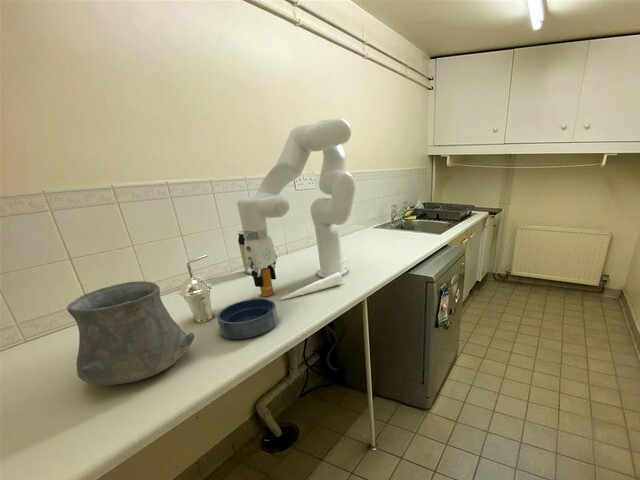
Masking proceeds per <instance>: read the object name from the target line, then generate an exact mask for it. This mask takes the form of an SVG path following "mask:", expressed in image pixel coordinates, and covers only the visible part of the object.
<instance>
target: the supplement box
mask: <svg viewBox="0 0 640 480" xmlns="http://www.w3.org/2000/svg"><path fill="white" fill-rule="evenodd" d="M260 276H262V279H263V284H264V286H263V287H259V289H260V294H261V296H264V297H269V296H271V295H274V293H275V292H274V287H273V282H272V279H271V275H270V269H269V268H267V267H265V268H263V269H261V272H260Z"/></svg>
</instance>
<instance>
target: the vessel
mask: <svg viewBox="0 0 640 480" xmlns="http://www.w3.org/2000/svg"><path fill="white" fill-rule="evenodd" d="M66 310H67V312H68V313H69V314H70V315H71V317H72V318H73V319H74V321H75V322H76V325H77V328H78V335H79V337H78V338H79V339H78V341H79V344H78V350H77V351H78V352H77V358H76V375H77V377H78V378H79V379H80V380H81V381H82V382H85V383H86V384H90V385H91V384H92V385H97V386H112V385H114V386H115V385H122V384H130V383H134V382H137V381H142V380H144V379H148V378H150V377H153V376H156V375H158V374H159V373H161V372H163V371H166V370H167V369H168V368H170V367H171V366H173V365H174V364H175V363H176V362H177V361H179V359H181V358H182V357H183V355H184V354H185V353H186V352H187V351H188V349H190V347H191V345H192V344H193V342H194V340H195V333H194V332H189V333H187V332H186V331H185V330H183V329H182V328H181V327H180V326H179V324H178V323H177V322H176V321H175V320H174V319H173V317H172V316H171V314H170V313H169V311H168V310H167V308H166V306H165V304H164V303H163V301H162V299H161V288H160V286H159V285H158V284H157V283H155V282H152V281H145V280H144V281H143V280H142V281H128V282H122V283H117V284H113V285H108V286H105V287H102V288H99V289H95V290H92V291H90V292H88V293H84V294H82V295H80V296H79V297H76V298H75V299H74V300H73V301H72V302H70V303H69V304H68V305H67V306H66Z"/></svg>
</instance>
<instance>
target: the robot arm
mask: <svg viewBox="0 0 640 480" xmlns="http://www.w3.org/2000/svg"><path fill="white" fill-rule="evenodd" d="M351 136H352V128H351V125H350V124H349V122H348V121H347V120H345V119H344V118H340V117H336V118H329V119H321V120H319V121H316V123H313V124H311V123H310V124H305V125H303V124H302V125H297V126H295V127H293V128H292V129H291V131H290V132H289V135H288V137H287V139H286V141H285V144H284V146H283V148H282V151H281V153H280V155H279V157H278V159H277V161H276V163H275V165H274V166H273V167H272V168H271V169H270V171H268V173H267V174H266V175H265V177H264V178H263V179H262V181H261V183H260V185H259V187H258V190H257V191H256V194H255V196H247V197H241V198H238V199H237V201H236V204H237V205H236V206H237V210H238V214H239V219H240V222H241V229H242V230H243V233H244V235H243V237H244V238H245V255H246V261H247V265H246V268H245V269H244V272H245V273H246V272H247V273H246V274H248V275H250V277H252V278H253V279H252V280H253V284H254V286H255V288H256V287H257V288H260V287H263V286H264V284H263V279H262V276H260V272H261V269H263V268H269V269H270V275H271V281H272V280H273V281H275V280H277V276H276V271H275V269H276V264H277V259H278V255H277V254H276V249H275V245H274V242H273V239H272V238H271V235H269V230H268V225H267V219H266V218H268V219H269V218H282V217H284V216H286V215H287V214H288V213H289V211H290V203H289V201H288V200H287V199H286V198H285V197H283V196H281V193H282V191H283V189H284V188H285V187H286V186H287V185H288V184H290V183H291V182H293V181H295V180H297V179H298V178H299V177H300V176H301V175H302V173H303V171H304V169H305V166H306V165H307V161H308V160H309V157H310V155H311V152H322V155H323V156H322V157H323V159H322V165H321V170H320V175H319V181H318V187H319V190H320V192H322V193H323V194H325V195H327V196H330V197H331V198H330V197H317V198H316V199H314V200H313V202H312V203H311V205H310V215H311V219H312V222H313V226H314V230H315V231H314V232H315V237H316V246H317V247H316V248H317V255H318V261H319V262H318V263H319V268H318V270H317V271H316V274H317V276H318V277H320V278H326V277H328V276H330V275H332V274H335V273H337V272H339V273H340V274H341V275H342V276H344V275H345V274H347V273H348V268H347V267H346V266H344V263H345V262H346V260H347V259H346V258H345V257H343V252H342V251H343V250H342V241H341V232H340V227H339V226H340V225H341V226H342V225H344V224H345V223H347V222H348V220H349V218H350V216H351V213H352V208H353V204H354V199H355V194H356V181H355V178H354V176H353V175H352V174H351V173H350V172H348V171H346V170H345V168H346V159H347V158H346V153H345V151H344V147H343V145H344V144H346V143H348V141H350V139H351ZM255 267H256V268H255ZM251 268H252V269H251ZM255 269H257V273H256V272H255Z"/></svg>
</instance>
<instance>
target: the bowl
mask: <svg viewBox="0 0 640 480" xmlns="http://www.w3.org/2000/svg"><path fill="white" fill-rule="evenodd" d="M216 320H217V323H218V328H219V331H220V334H221V335H222V336H223V337H225V338H226V339H232V340H245V339H250V338H253V337H257V336H260V335H263V334H264V333H265V334H266V332H269V331H270V330H272V329H273V328H274V327H276V325H277V324H278V322H279V316H278V310H277V305H276V302H274V301H273V300H271V299H268V298H251V299H245V300H240V301H237V302H235V303H232V304H229V305H227V306H226V307H224V308H222V309H221V310H220V311H219V312H218V313H217V315H216Z"/></svg>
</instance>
